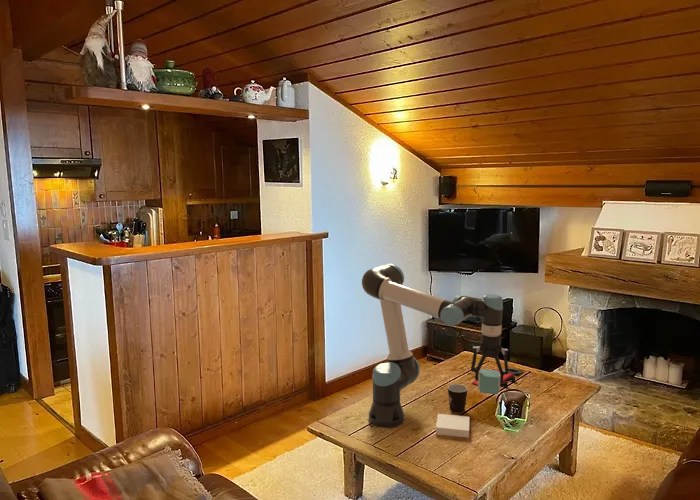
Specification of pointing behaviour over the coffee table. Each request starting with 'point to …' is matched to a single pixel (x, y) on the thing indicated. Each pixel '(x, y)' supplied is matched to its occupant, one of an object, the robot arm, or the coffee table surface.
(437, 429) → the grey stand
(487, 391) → the teal cube
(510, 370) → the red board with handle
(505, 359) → the robot arm
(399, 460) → the coffee table surface
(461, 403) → the coffee mug
